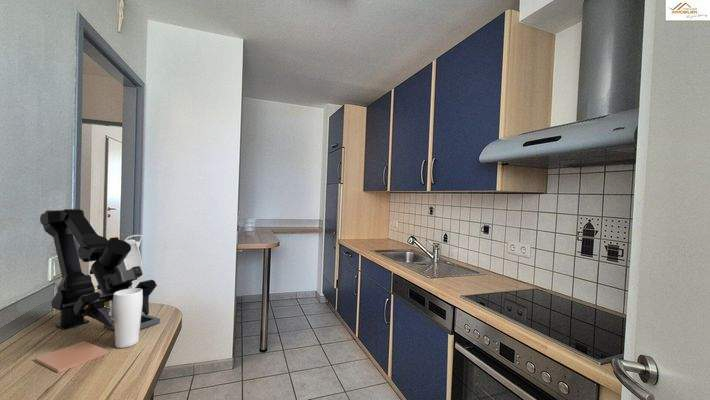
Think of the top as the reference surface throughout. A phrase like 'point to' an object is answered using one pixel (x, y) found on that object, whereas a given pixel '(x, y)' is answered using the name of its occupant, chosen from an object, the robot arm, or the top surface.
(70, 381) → the top surface
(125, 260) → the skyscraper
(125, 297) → the white cup
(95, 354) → the terracotta tile
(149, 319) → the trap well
